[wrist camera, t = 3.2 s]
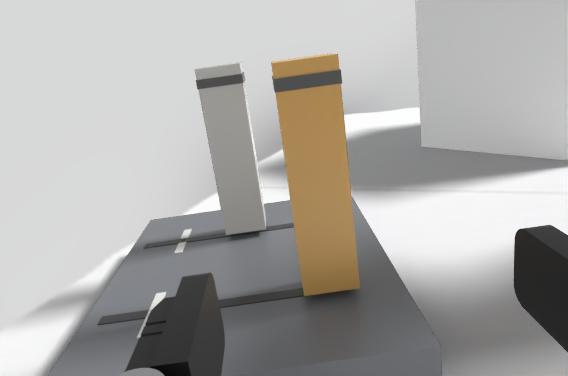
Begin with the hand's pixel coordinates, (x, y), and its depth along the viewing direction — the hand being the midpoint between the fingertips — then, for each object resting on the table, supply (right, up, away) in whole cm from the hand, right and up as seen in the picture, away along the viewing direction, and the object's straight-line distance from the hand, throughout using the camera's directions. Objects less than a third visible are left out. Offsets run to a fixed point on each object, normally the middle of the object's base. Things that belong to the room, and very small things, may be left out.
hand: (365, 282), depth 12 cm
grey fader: (-5, 0, +23) cm, 23 cm away
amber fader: (0, -3, +13) cm, 13 cm away
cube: (+34, +10, +52) cm, 63 cm away
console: (-4, -5, +19) cm, 20 cm away
